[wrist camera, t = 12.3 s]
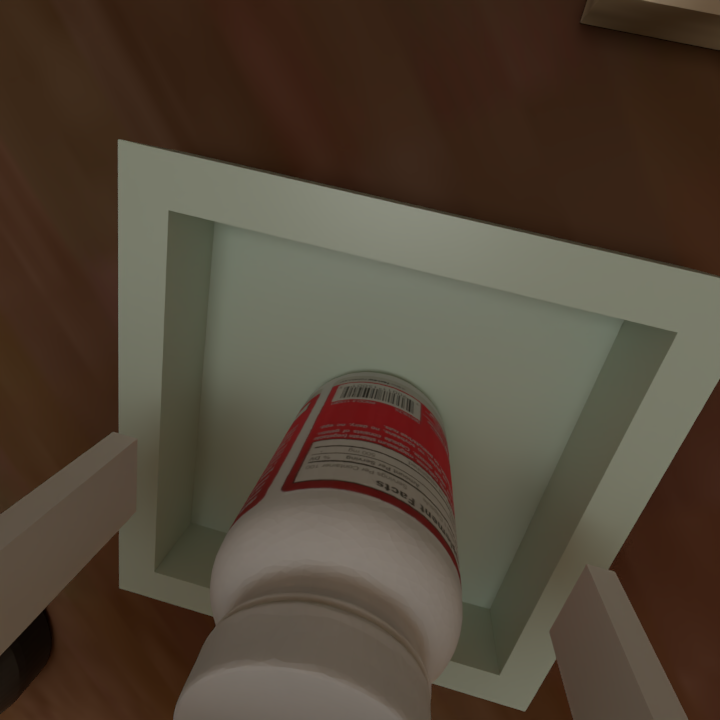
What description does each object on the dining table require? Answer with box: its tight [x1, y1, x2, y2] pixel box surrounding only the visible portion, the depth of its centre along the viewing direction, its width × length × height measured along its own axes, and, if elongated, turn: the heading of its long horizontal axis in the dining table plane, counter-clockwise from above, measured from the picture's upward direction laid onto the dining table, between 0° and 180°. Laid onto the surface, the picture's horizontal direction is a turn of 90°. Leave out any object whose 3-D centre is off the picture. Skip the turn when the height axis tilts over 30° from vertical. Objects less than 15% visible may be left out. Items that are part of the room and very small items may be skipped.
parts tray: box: [118, 139, 720, 711], centre depth 17 cm, size 18×18×4 cm
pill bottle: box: [173, 372, 463, 720], centre depth 13 cm, size 6×6×11 cm
